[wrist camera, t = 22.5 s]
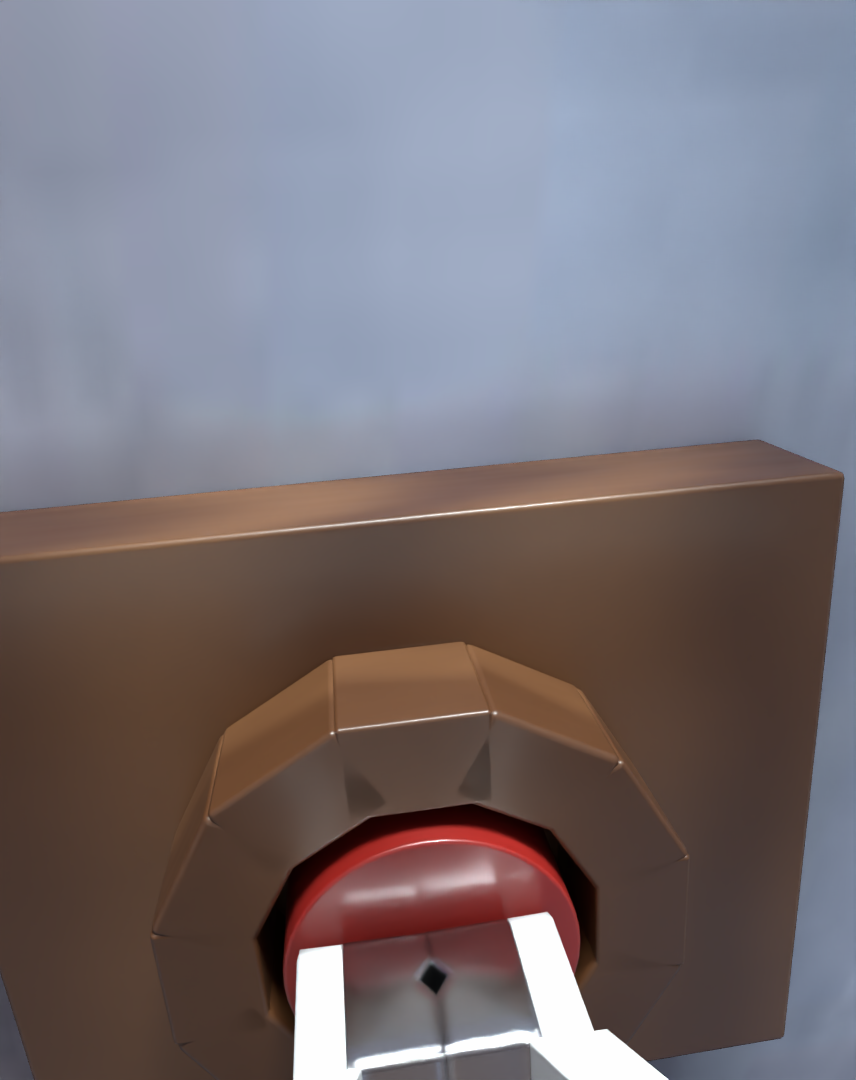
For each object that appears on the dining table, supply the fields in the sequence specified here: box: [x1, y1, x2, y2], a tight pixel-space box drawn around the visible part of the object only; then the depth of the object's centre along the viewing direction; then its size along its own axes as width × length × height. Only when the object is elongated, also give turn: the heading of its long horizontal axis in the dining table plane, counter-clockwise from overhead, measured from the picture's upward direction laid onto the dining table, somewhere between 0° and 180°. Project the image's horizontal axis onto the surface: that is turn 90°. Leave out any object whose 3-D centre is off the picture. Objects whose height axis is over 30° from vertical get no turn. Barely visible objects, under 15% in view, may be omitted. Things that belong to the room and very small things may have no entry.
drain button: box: [283, 804, 580, 1016], centre depth 10 cm, size 4×4×2 cm
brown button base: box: [0, 440, 844, 1080], centre depth 12 cm, size 12×10×4 cm
